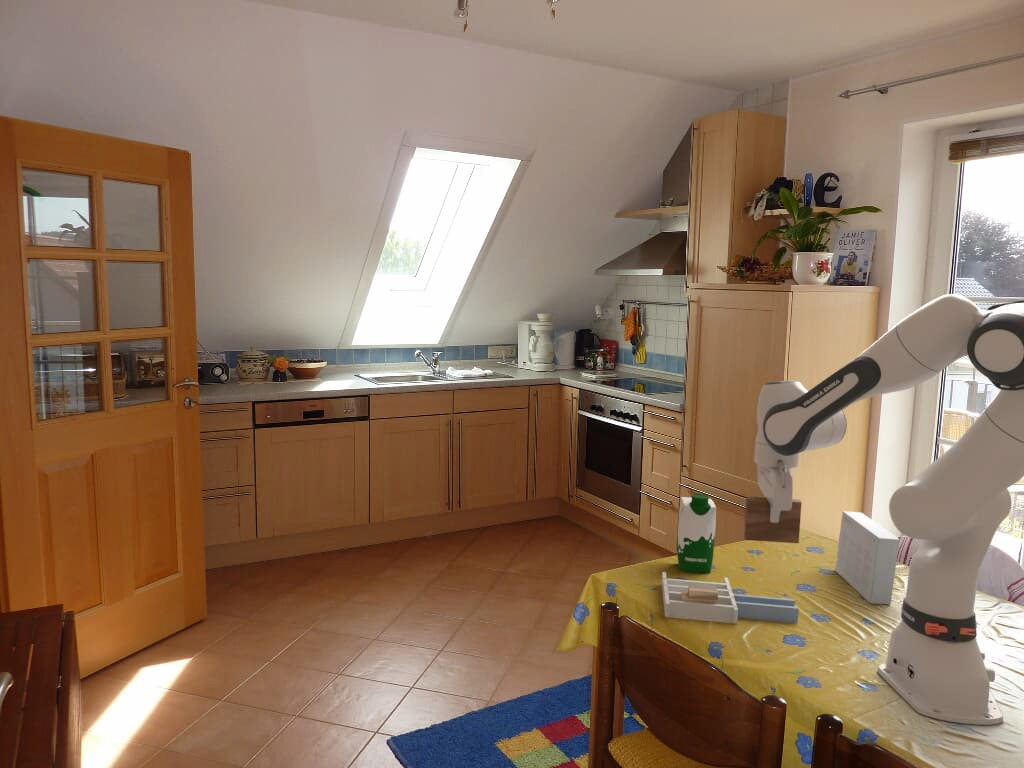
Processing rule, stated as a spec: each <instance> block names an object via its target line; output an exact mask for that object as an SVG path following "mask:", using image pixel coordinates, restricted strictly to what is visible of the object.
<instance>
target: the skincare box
mask: <svg viewBox="0 0 1024 768" xmlns="http://www.w3.org/2000/svg"><path fill="white" fill-rule="evenodd" d="M841 515H842V516H841V521H840V522H841V523H840V531H839V536H838V538H839V539H838V543H837V544H838V545H837V552H836V558H835V559H836V560H835V567H834V571H835V572H837V574H839V576H841V578H843V579H844V581H845V582H847V583H848V584H849V585H850V586H851V587H852V588H853V589H854V590H855V591H857V593H858V594H859V595H861V596H862V597H863V599H865V600H866V601H867V602H868V603H869V604H876V605H891V604H892V596H893V589H894V581H895V574H896V569H897V568H896V567H897V561H898V560H897V559H898V554H899V553H898V552H899V546H900V538H899V537H897V536H895V535H894V534H893V533H891V532H890V531H889V530H887V529H885V528H884V526H883V527H882V526H881V525H880V524H878V523H877V522H875V521H874V520H873V519H871V517H869V516H867V515H866V514H864V513H863V512H859V511H845V510H842V514H841Z"/></svg>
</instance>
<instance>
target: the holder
mask: <svg viewBox="0 0 1024 768" xmlns="http://www.w3.org/2000/svg"><path fill="white" fill-rule="evenodd" d="M733 595H734V599H735V602H736V605H737V608H738V619H746V620H757V621H768V622H770V621H771V622H778V623H779V622H780V623H788V624H789V623H793V624H799V621H798V620H799V612H800V611H799V610H800V608H799V607H798V606H796V605H795V603H796V601H795V599H793V598H783V597H782V598H781V597H772V596H771V597H769V596H760V595H747V594H736V593H733Z"/></svg>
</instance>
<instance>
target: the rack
mask: <svg viewBox="0 0 1024 768" xmlns="http://www.w3.org/2000/svg"><path fill="white" fill-rule="evenodd" d="M661 573H662V574H661V592H662V602H663V611H664V617H665V618H673V619H683V620H692V621H694V620H695V621H705V622H714V623H715V622H716V623H726V624H738V619H739V618H738V608H737V605H736V602H735V599H734V595H733V594H734V593H733V590H732V587H731V583H730V581H729V578H728V577H726V576H725V577H723V583H722V582H714V581H713V582H712V581H701V580H700V581H699V580H689V579H678V578H667V572H666V571H661ZM688 585H697V586H708V587H717V590H718V601H715V603H718V604H708V603H697V602H686V601H680V600H681V592H687V593H688Z"/></svg>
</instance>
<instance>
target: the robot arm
mask: <svg viewBox="0 0 1024 768" xmlns="http://www.w3.org/2000/svg"><path fill="white" fill-rule="evenodd" d="M966 356H968V358H969V361H970V363H971V364H972V365H973V367H974V368H975V369H976V370H977V371H978V372H979V373H980V374H982V376H984V377H986V378H987V379H988V380H989V381H990V382H991V384H993V385H994V387H996V388H997V389H999V390H998V391H997V393H996V394H995V396H994V397H993V398H992V399H991V401H990V402H989V403H988V404H987V405H986V406H985V408H984V409H983V411H982V412H981V413H980V414H979V415H978V417H976V419H975V420H974V421H973V422H972V424H971V425H970V426H969V428H968V429H967V430H966V431H965V433H963V435H962V436H961V437H960V438H959V439H958V440H957V441H956V442H955V443H954V444H953V445H952V446H951V447H950V448H949V449H947V450H946V451H945V452H944V453H942V454H941V455H940V456H939V457H938V458H937V459H935V460H934V461H933V462H932V463H930V465H928V466H927V467H926V468H925V469H924V470H923V471H922V472H921V473H919V474H918V475H917V476H916V477H914V478H913V479H912V480H910V481H909V482H908V483H906V484H903V485H902V486H901V487H899V488H897V489H896V490H895V491H894V492H893V493H892V495H891V498H890V500H889V505H888V512H889V516H890V520H891V521H892V523H893V525H894V526H895V528H896V530H898V531H899V532H900V533H901V534H903V536H906V537H907V538H910V539H915V540H922V541H923V542H922V544H921V545H920V547H918V549H917V551H915V552H914V554H913V556H912V557H911V559H910V562H909V567H908V576H907V586H906V593H905V597H904V598H903V601H902V604H901V609H900V610H901V613H900V617H901V621H900V622H899V624H898V625H897V626H896V627H895V628H894V629H893V630H892V631H891V633H890V639H889V645H888V650H887V653H886V654H887V656H886V661H885V663H881V664H879V665H878V666H877V673H878V674H879V676H880V677H882V679H884V681H886V682H887V684H888V685H890V686H891V687H892V688H893V690H894V691H896V692H897V693H898V695H900V697H901V698H903V700H905V702H906V703H907V704H909V705H910V706H911V708H913V710H915V711H916V713H918V714H921V715H923V716H925V717H929V718H933V719H936V720H940V721H944V722H945V721H946V722H951V723H957V724H967V725H978V726H980V725H981V726H983V725H984V726H987V725H988V726H989V725H998V724H1001V723H1003V722H1004V716H1003V713H1002V711H1001V709H1000V707H999V704H998V703H997V700H996V698H995V696H994V694H993V692H992V690H991V688H990V685H991V684H990V683H993V682H995V681H996V680H995V679H996V672H995V669H994V668H991V667H986V665H985V662H984V661H985V659H986V654H985V653H986V652H984V651H981V649H980V646H979V643H978V640H977V638H976V637H977V627H978V626H977V625H978V624H977V619H976V618H977V617H976V613H975V605H976V604H975V602H976V595H977V589H978V581H979V577H980V576H979V575H980V572H981V569H982V566H983V562H984V561H985V558H986V555H987V553H988V550H989V547H990V545H991V543H992V542H993V539H994V536H995V534H996V532H997V530H998V528H999V527H1000V525H1001V524H1002V523H1003V521H1004V520H1006V518H1007V517H1009V514H1010V512H1011V510H1012V496H1011V493H1010V491H1009V489H1008V488H1010V487H1011V486H1013V485H1015V484H1017V483H1018V482H1020V481H1021V480H1022V478H1023V477H1024V300H1018V301H1013V302H1012V301H1011V302H1007V303H1001V304H993V305H990V306H989V307H988V308H987V310H983V309H981V308H980V307H979V306H977V305H976V303H974V302H973V301H972V300H970V299H968V298H967V297H965V296H963V295H960V294H957V293H956V294H955V293H949V294H943V295H942V296H939V297H937V298H935V299H933V300H931V301H929V302H928V303H926V304H924V305H922V306H921V307H919V308H918V309H916V310H915V311H913V312H911V313H910V314H909V315H907V316H906V317H904V318H903V319H901V320H900V321H899V322H898V323H896V324H895V325H894V326H893V327H891V328H890V329H889V330H888V331H887V332H885V333H884V334H883V335H882V336H881V337H879V338H878V339H877V340H876V341H875V342H873V343H872V344H871V345H870V346H869V347H868V348H866V349H865V350H864V351H863V352H861V353H859V355H857V356H856V357H855V358H853V359H852V360H851V361H849V362H848V363H846V365H844V366H843V367H841V368H840V369H838V370H837V371H835V372H834V373H833V374H831V375H830V376H828V377H826V378H825V379H824V380H822V381H821V382H819V383H818V384H817V385H815V386H814V387H812V388H810V389H809V390H807V389H806V388H805V387H804V386H803V384H802V383H801V382H799V381H798V380H796V379H795V380H794V379H793V380H792V379H790V380H778V381H768V382H766V383H764V384H763V386H762V388H761V390H760V392H759V396H758V400H757V401H758V402H757V409H756V410H757V411H756V412H757V413H756V425H757V434H756V436H755V445H754V460H753V461H754V462H753V463H755V464H756V473H757V474H756V475H757V485H758V487H759V489H760V491H761V492H762V493H763V494H762V495H764V498H767V500H768V501H769V503H770V506H771V508H770V512H769V520H770V522H772V523H778V522H779V515H780V512H781V510H784V511H789V510H791V507H792V499H793V493H794V492H793V485H794V484H793V481H794V480H793V475H792V468H797V467H798V466H799V457H800V453H802V452H808V451H815V450H819V449H824V448H828V447H831V446H834V445H837V444H838V443H840V442H841V441H842V440H843V439H844V437H845V435H846V432H847V424H848V423H847V418H846V415H845V413H844V410H845V409H847V408H848V407H850V406H852V405H853V404H856V403H858V402H860V401H863V400H865V399H869V398H871V397H875V396H880V395H881V396H882V395H885V394H891V393H894V392H895V393H896V392H902V391H906V390H909V389H911V388H914V387H916V386H918V385H921V384H922V383H924V382H926V381H928V380H931V379H932V378H934V377H935V376H936V375H938V374H939V373H940V372H943V370H945V369H946V368H947V367H949V366H950V365H952V364H953V363H955V362H956V361H958V360H959V359H961V358H963V357H966Z"/></svg>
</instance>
